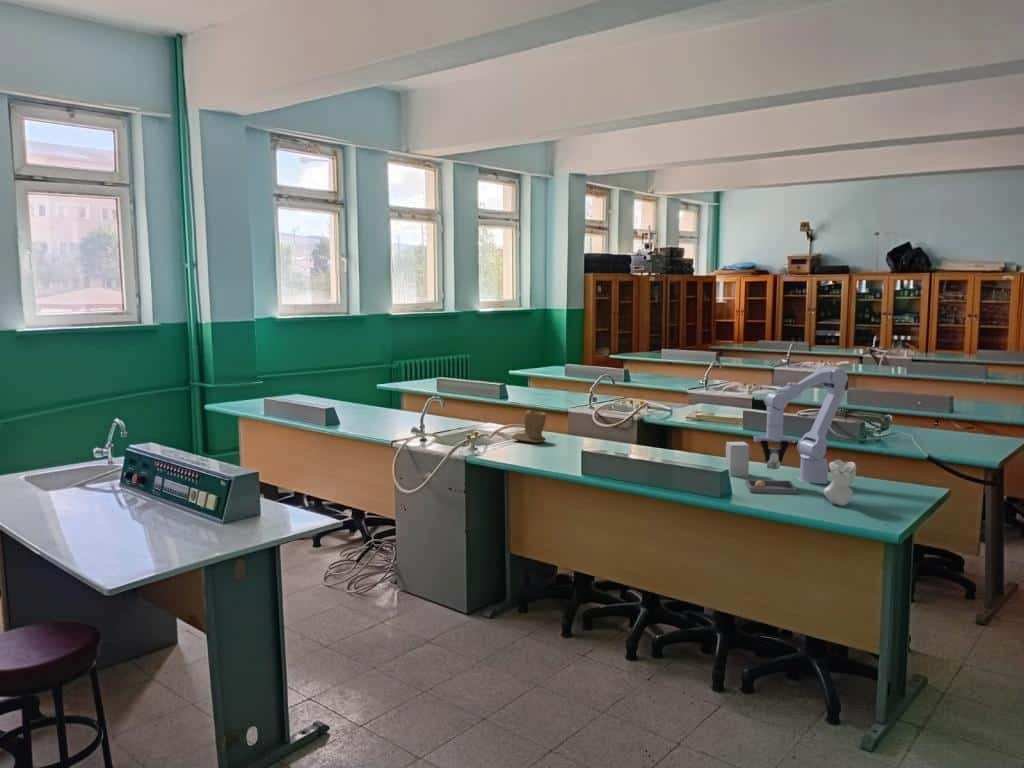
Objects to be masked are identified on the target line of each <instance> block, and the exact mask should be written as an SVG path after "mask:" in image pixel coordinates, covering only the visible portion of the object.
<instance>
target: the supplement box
mask: <svg viewBox="0 0 1024 768" xmlns="http://www.w3.org/2000/svg"><path fill="white" fill-rule="evenodd" d="M725 443H726V444H725V468H726V467H727V468H728V469H729V472H730V476H729V477H749V467H750V466H749V465H750V463H749V462H750V445H749V444H748V443H746V442H745V441H726V442H725Z"/></svg>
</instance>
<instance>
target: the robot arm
mask: <svg viewBox="0 0 1024 768" xmlns="http://www.w3.org/2000/svg"><path fill="white" fill-rule="evenodd" d="M848 380H849V377H848V374H847V372H846V370H845V369H843V368H842V367H833V366H827V365H822V366H821V367H819V368H817V369H816V368H815V371H814V372H812V373H811V374H809V375H807V376H806V377H804V378H803V379H801V380H800V381H798V382H797V383H796V382H790V381H789V382H787V383H786V385H784V387H782V388H778V389H777V390H776V391H775V392H774V391H772V392H769V393H768V394H767V395H766V396H765V399H763V403H764V405H765V407H766V435H753V442H754V443H758V442H759V443H760V445H761V448H762V451H763V454H764V455H763V456H764V461H765V462H766V463H767V462H768V448H769V443H779V449H780V463H783V458H784V455H785V454H786V451H787V449H788V448H789V445H790V443H793V444H795V443H796V437H795V436H786V435H783V433H784V413H785V412H784V410H785V408H786V407H787V406H788V404H789V403H790V402H792V401H794V400H796V399H797V398H799V397H801V396H802V393H803V391H806V390H807V389H810V388H812V387H813V386H815V385H818V384H819V383H821V385H822V386H823V388H824V389H825V391H826V393H827V394H826V396H825V397H824V401H823V403H822V405H821V407H820V408H819V409H820V410H819V411H818V413H817V416H816V418H815V420H814V422H813V424H812V427H811V429H810V430H809V431H807V432H806V433H804V435H803V437H802V438H801V439H800V440H798V443H797V445H796V450H797V452H798V453H799V456H800V470H799V475H800V476H796V478H797V479H798V480H799V481H800V482H801V483H804V484H805V483H809V484H820V485H821V484H825V485H827V484H828V472H829V463H828V459H827V458H824V457H825V455H826V453H827V446H828V444H829V443H828V440H827V438H826V435H827V433H828V430H830V426H831V425H832V422H833V420H834V417H835V415H836V413H837V411H838V409H839V407H840V405H841V402H842V399H843V398H844V395H845V394H846V393H845V392H846V384H847V382H848ZM828 485H829V484H828Z"/></svg>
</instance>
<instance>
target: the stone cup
mask: <svg viewBox="0 0 1024 768" xmlns="http://www.w3.org/2000/svg"><path fill="white" fill-rule="evenodd" d="M546 420H547V415H546V413H545V412H542V411H535V410H531V409H530V410H529V409H527V410H526V411H525V413H524V417H523V422H524V432H521V433H520V432H518V433H514V434H513V435H512V436H511V440H515V441H518V442H519V441H521V442H525V443H544V442H545V441H546V440H547V439H546V438H545V436H543V435H542V432H543V430H544V427H545V425H546Z"/></svg>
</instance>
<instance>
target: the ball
mask: <svg viewBox="0 0 1024 768" xmlns="http://www.w3.org/2000/svg"><path fill="white" fill-rule="evenodd" d="M755 487H756V488H765V483H764V482H763V481H757V482H756V483H755Z"/></svg>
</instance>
